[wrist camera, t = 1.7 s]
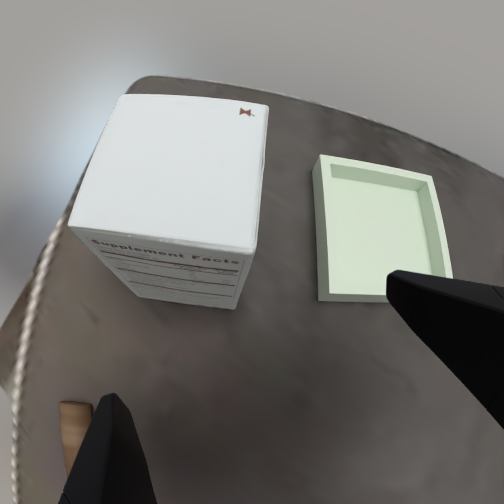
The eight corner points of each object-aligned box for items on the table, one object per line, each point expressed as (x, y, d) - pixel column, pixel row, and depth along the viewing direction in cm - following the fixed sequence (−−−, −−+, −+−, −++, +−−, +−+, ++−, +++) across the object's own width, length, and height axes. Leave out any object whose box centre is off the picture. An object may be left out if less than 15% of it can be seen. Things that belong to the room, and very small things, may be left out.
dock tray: (437, 302, 24) (454, 295, 22) (318, 300, 23) (329, 293, 21) (418, 189, 29) (431, 176, 26) (311, 171, 27) (320, 154, 25)
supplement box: (155, 208, 25) (120, 88, 13) (246, 221, 25) (275, 101, 13) (134, 299, 22) (60, 225, 10) (235, 314, 22) (260, 253, 11)
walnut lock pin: (105, 479, 16) (84, 487, 14) (82, 472, 17) (61, 477, 15) (97, 405, 18) (74, 406, 16) (74, 400, 19) (52, 401, 17)
